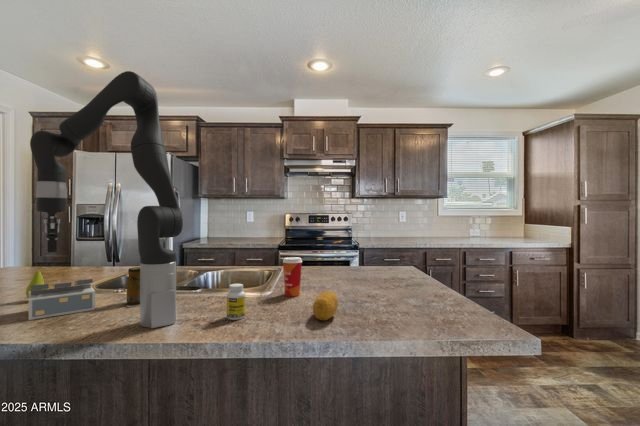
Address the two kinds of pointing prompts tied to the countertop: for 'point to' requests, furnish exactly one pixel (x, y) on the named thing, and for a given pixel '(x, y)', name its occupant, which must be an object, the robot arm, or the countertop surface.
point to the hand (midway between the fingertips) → (52, 252)
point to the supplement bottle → (236, 302)
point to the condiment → (133, 287)
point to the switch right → (83, 282)
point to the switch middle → (62, 284)
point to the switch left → (39, 287)
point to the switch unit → (61, 301)
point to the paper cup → (292, 275)
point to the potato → (325, 305)
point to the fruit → (35, 282)
